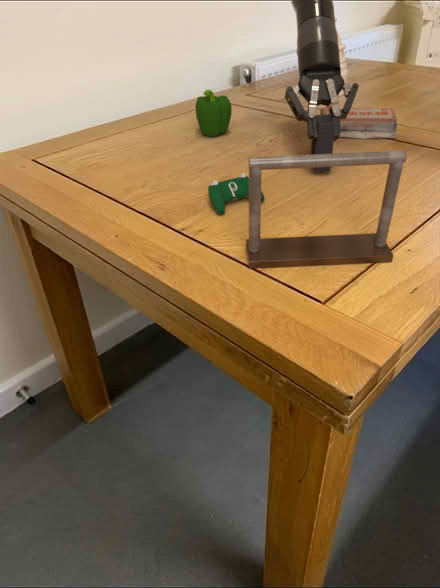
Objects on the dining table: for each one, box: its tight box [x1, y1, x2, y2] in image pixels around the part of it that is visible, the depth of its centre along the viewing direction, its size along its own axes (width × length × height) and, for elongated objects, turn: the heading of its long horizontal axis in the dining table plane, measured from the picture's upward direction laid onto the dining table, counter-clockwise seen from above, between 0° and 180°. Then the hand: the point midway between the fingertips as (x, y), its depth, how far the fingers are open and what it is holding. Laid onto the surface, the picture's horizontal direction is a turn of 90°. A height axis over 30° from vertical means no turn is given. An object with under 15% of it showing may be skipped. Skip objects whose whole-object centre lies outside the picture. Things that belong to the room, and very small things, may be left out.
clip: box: [309, 114, 336, 173], centre depth 87 cm, size 5×3×9 cm, turn 2°
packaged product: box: [319, 106, 398, 140], centre depth 105 cm, size 18×5×10 cm
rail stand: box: [245, 149, 407, 270], centre depth 63 cm, size 20×6×15 cm, turn 92°
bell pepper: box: [194, 89, 232, 138], centre depth 106 cm, size 8×8×10 cm
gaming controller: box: [207, 172, 266, 215], centre depth 80 cm, size 9×4×6 cm
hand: (325, 139), depth 84 cm, fingers closed on clip, 3 cm apart
